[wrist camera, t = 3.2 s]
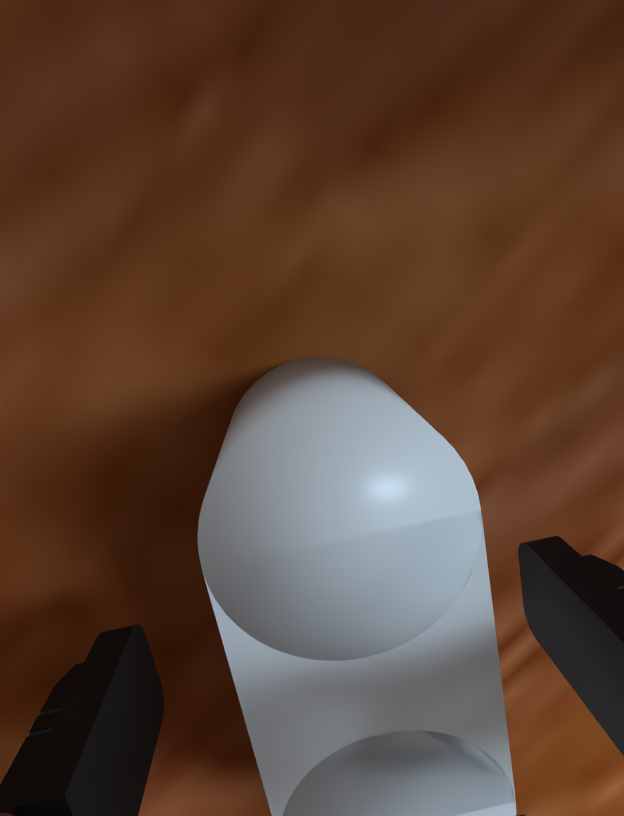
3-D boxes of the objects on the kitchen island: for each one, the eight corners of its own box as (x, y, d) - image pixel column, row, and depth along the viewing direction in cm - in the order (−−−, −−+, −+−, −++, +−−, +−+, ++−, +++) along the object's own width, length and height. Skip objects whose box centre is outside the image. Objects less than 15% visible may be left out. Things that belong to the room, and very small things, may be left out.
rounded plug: (394, 339, 12) (464, 373, 7) (458, 760, 15) (534, 961, 10) (206, 377, 11) (163, 435, 7) (312, 792, 15) (326, 1008, 10)
